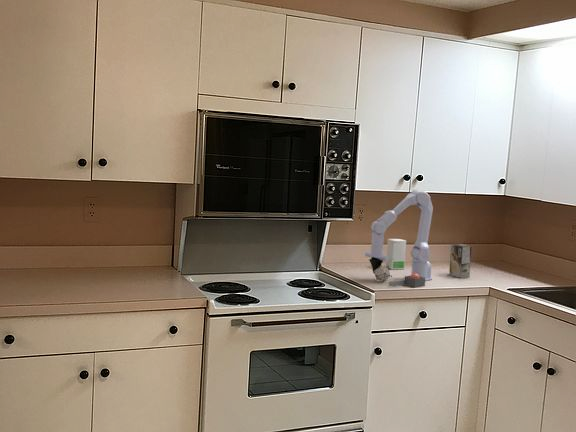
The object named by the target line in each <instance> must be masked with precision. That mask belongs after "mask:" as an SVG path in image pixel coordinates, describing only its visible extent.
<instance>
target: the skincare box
mask: <svg viewBox="0 0 576 432" xmlns="http://www.w3.org/2000/svg"><path fill="white" fill-rule="evenodd" d="M406 250H407V240H405V239H402V238H387V246H386V257H389V260H388V261H386V262H385V267H388V266H389V267H388V269H389V270H405V266H406V265H405V264H406V263H405V262H406Z"/></svg>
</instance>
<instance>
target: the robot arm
mask: <svg viewBox="0 0 576 432" xmlns="http://www.w3.org/2000/svg"><path fill="white" fill-rule="evenodd" d="M432 203H433V202H432V200H431V196H430V194H428V192H426V191H425V190H424V191H421V190H418V189H413V190H411V192H409V193H408V194H407V195H406V196H405V198H403V199H402V200H401V201H400V202H399V203H398V204H397V205H396V206H395V207H394V208H393V209H392V210H390V209H389V210H386V211H384V214H383V215H381V216H380V218H379V217H378V218H377V220H375V221H373V222H372V223H371V225H370V230H371V242H370V243H371V244H370V245H371V246H370V252H369V251H368V252H367V251H365V252H364V257H366V258H367V257H369V259H368V261H369V263H370V265H371V268H372V270H376V269H377V268H378V266H379V267H380V266H382V264H383V262H385V263H386V261H388V260H389V257H387V255H384V253H383V252H384V238H385V237H384V236H385V233H386V231H387V228H389V227H390V226H391V225H392V224H393V223H394V222H395V221H396V220H397V219H398V216H399V215H400V214H401V213H402V212H403V211H404V210H405V209H407V208H408V207H409V206H415V205H416V206H417V207H418V208H420V210H421V212H420V217H419V224H418V228H417V229H418V230H417V236H416V241H415V242H414V243H413V247H412V248H411V251H410V256H411V258H412V260H411V261H412V262H411V274H410V276H411V275H412V274H413V273H417V274H418V275H419V276H421V277H424V278H425V281H431V280H432V277H431V275H432V264H431V262H429V261H428V260H429V259H430V256H431V255H430V246H429V244H428V241H429V236H430V230H431V229H430V228H431V223H432V217H433V210H434V206H433V204H432ZM380 264H381V265H380ZM372 273H373V274H374V275H375V273H374V271H372Z"/></svg>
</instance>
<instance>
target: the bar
mask: <svg viewBox="0 0 576 432" xmlns="http://www.w3.org/2000/svg"><path fill="white" fill-rule="evenodd" d="M404 281H405V279H397V280H396V279H395V280H389V281H388V287H389V286H394V287H397V286H396V285H401V286H405V285H404Z"/></svg>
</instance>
